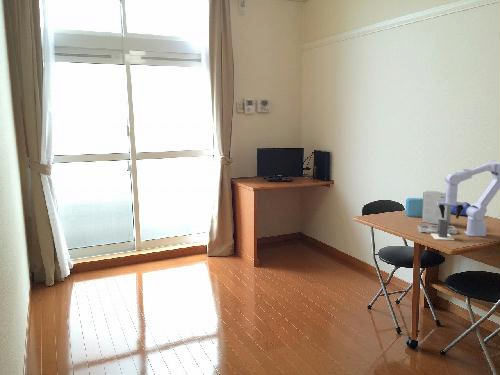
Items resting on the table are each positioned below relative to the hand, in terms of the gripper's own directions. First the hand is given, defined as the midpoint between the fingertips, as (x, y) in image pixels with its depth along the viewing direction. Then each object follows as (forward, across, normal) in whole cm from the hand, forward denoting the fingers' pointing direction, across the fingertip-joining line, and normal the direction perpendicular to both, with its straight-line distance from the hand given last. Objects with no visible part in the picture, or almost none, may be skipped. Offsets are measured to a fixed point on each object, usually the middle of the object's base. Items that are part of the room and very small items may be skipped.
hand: (449, 218), depth 237 cm
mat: (+10, +5, +6) cm, 13 cm away
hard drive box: (+10, +1, -25) cm, 27 cm away
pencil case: (+10, -16, -51) cm, 54 cm away
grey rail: (+10, +5, -6) cm, 13 cm away
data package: (+10, +10, -42) cm, 44 cm away
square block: (+9, +5, +6) cm, 12 cm away
